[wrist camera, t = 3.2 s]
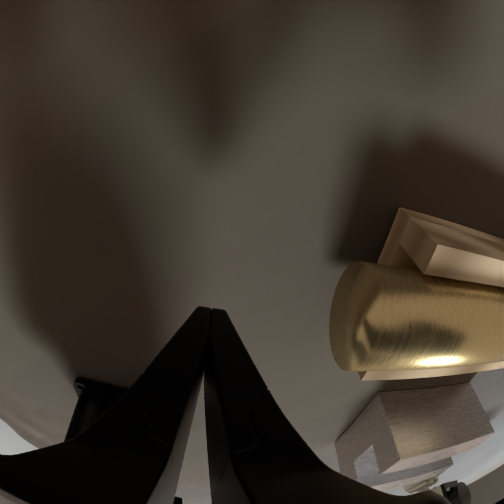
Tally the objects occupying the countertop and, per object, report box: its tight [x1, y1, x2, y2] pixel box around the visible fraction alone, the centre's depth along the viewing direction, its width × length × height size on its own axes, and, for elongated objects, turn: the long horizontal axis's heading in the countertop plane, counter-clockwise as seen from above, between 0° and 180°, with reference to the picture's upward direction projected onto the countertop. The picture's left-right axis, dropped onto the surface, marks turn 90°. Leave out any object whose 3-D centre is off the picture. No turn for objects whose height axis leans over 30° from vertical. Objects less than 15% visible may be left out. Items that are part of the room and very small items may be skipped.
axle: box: [329, 261, 504, 371], centre depth 12 cm, size 16×4×4 cm, turn 79°
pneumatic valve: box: [403, 475, 471, 504], centre depth 27 cm, size 6×12×12 cm, turn 148°
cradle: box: [335, 383, 494, 491], centre depth 19 cm, size 10×8×6 cm
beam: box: [358, 207, 504, 381], centre depth 13 cm, size 14×7×3 cm, turn 79°
